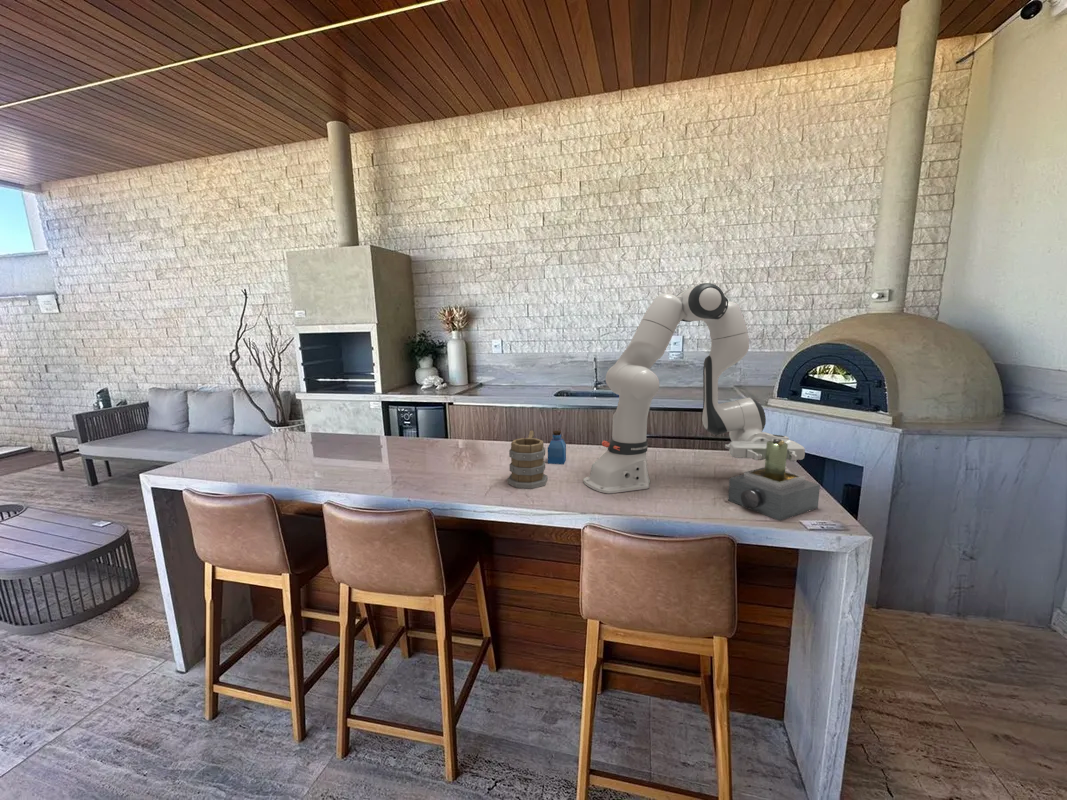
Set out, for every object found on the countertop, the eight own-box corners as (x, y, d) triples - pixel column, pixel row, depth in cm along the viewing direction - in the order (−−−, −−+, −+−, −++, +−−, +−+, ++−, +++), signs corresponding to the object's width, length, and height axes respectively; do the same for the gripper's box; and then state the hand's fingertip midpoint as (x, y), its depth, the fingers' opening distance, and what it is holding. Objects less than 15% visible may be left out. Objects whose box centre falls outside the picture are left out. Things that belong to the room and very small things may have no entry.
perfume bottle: (563, 464, 166) (563, 433, 164) (547, 463, 167) (547, 432, 165) (565, 459, 172) (566, 429, 170) (550, 458, 173) (550, 429, 171)
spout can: (760, 477, 128) (764, 435, 126) (779, 477, 128) (783, 435, 126) (769, 484, 122) (773, 440, 120) (789, 485, 122) (793, 441, 120)
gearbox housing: (775, 522, 115) (777, 489, 114) (723, 501, 129) (725, 472, 127) (817, 508, 124) (820, 477, 122) (765, 490, 138) (767, 462, 136)
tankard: (543, 489, 140) (543, 444, 137) (504, 487, 142) (504, 442, 140) (551, 470, 159) (551, 429, 157) (517, 468, 161) (517, 428, 159)
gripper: (723, 434, 138) (738, 446, 125) (792, 436, 136) (815, 448, 122) (722, 454, 139) (737, 467, 126) (790, 455, 137) (813, 469, 123)
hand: (776, 458), depth 124 cm, fingers open, 8 cm apart
